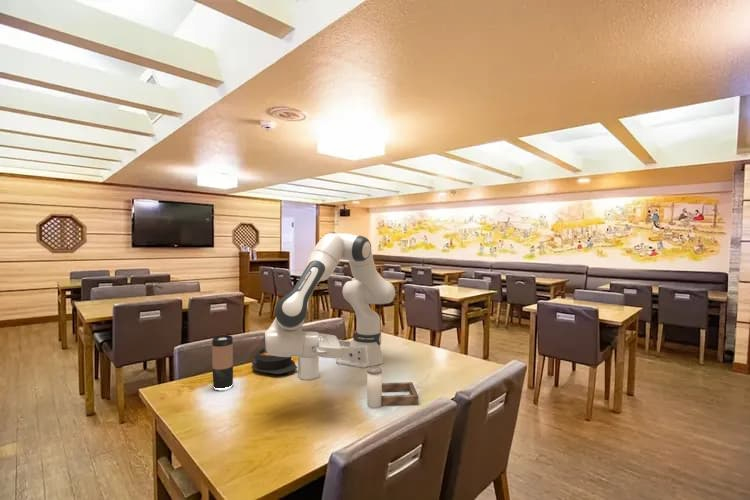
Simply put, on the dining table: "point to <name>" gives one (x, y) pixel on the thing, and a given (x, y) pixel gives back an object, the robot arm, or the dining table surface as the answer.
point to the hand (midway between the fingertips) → (351, 347)
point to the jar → (308, 368)
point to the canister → (374, 387)
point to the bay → (399, 399)
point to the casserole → (272, 363)
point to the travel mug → (222, 361)
